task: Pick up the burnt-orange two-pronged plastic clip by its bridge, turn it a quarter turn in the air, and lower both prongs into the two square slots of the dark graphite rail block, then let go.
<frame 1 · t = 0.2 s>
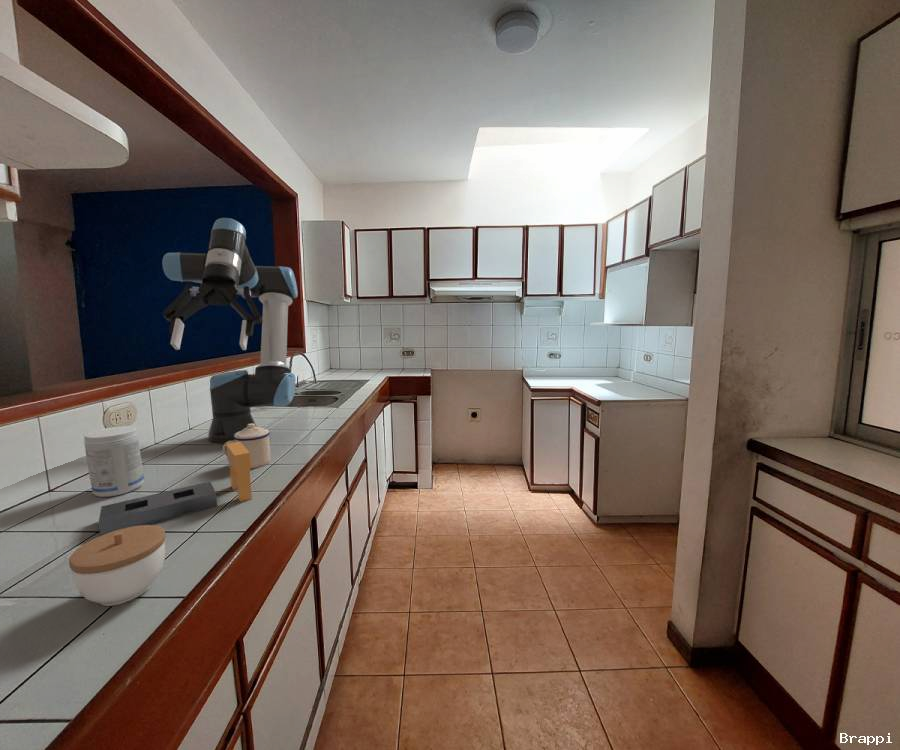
hand: (209, 347, 84), 35 cm above the counter, tool tilted 35°, fingers open, 13 cm apart
orange clip: (241, 492, 89), on the counter
teacup with lid: (248, 464, 107), on the counter
supplement tub: (119, 490, 91), on the counter
graphite rail: (162, 512, 80), on the counter
lidded jar: (126, 592, 57), on the counter
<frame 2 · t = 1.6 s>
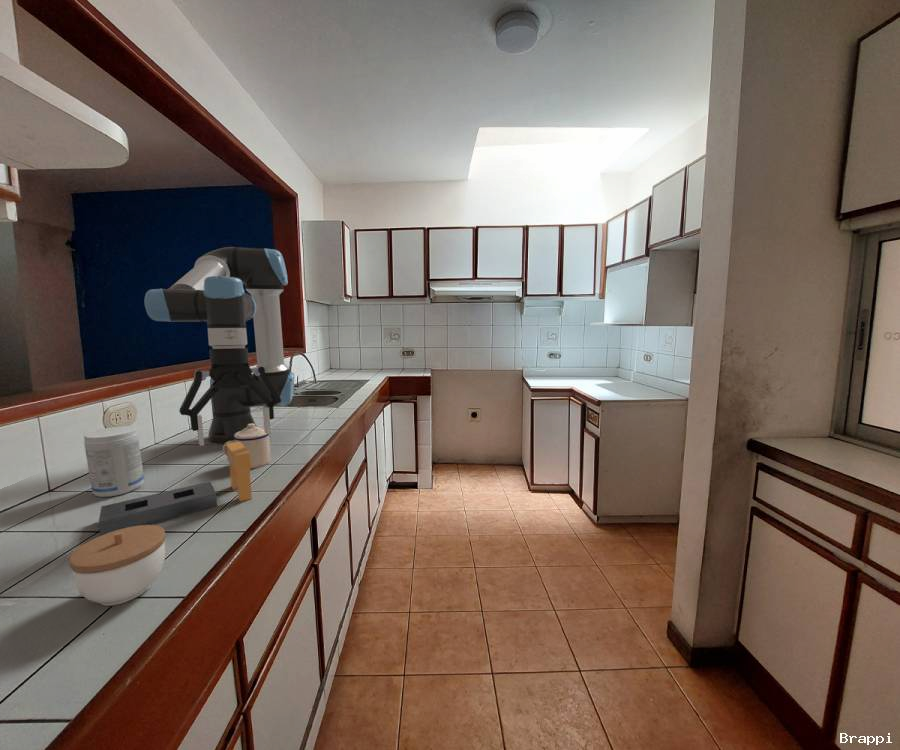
hand: (236, 438, 87), 13 cm above the counter, tool pointing down, fingers open, 13 cm apart
nothing on the counter moved.
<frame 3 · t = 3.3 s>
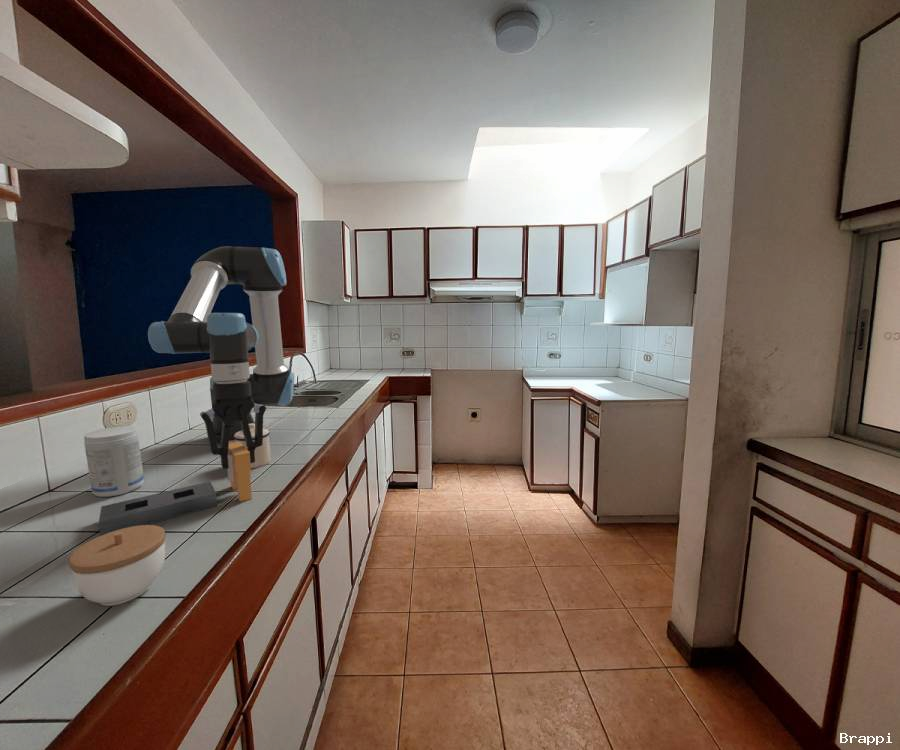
hand: (239, 478, 89), 4 cm above the counter, tool pointing down, fingers closed on orange clip, 3 cm apart
orange clip: (241, 492, 89), on the counter, touching gripper
everything else where it was.
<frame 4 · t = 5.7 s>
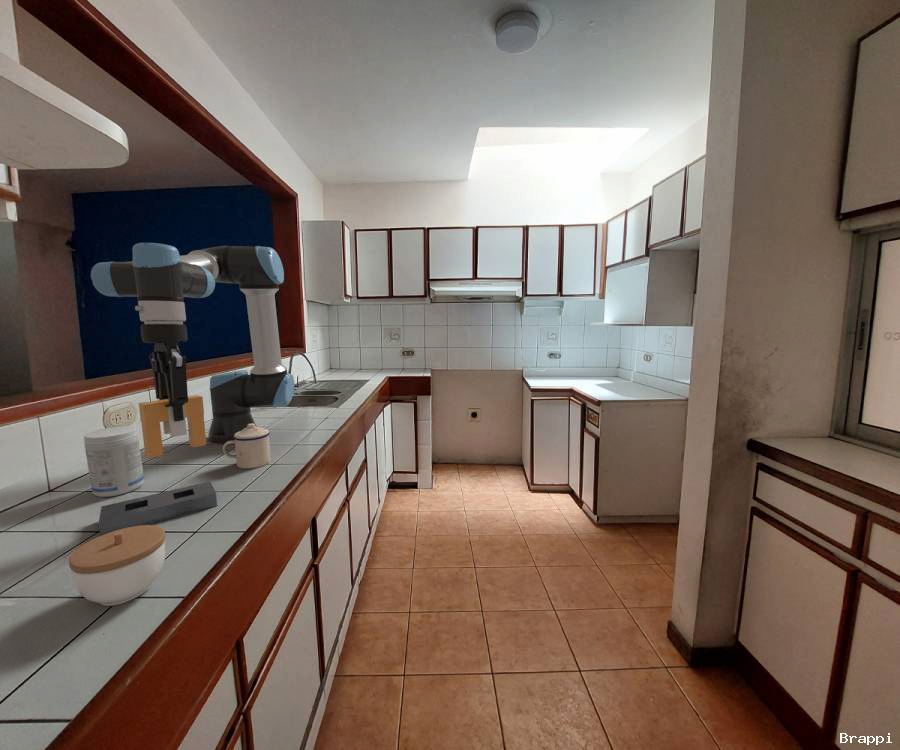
hand: (175, 433, 80), 17 cm above the counter, tool pointing down, fingers closed on orange clip, 3 cm apart
orange clip: (177, 449, 80), point 13 cm above the counter, touching gripper
everything else where it was.
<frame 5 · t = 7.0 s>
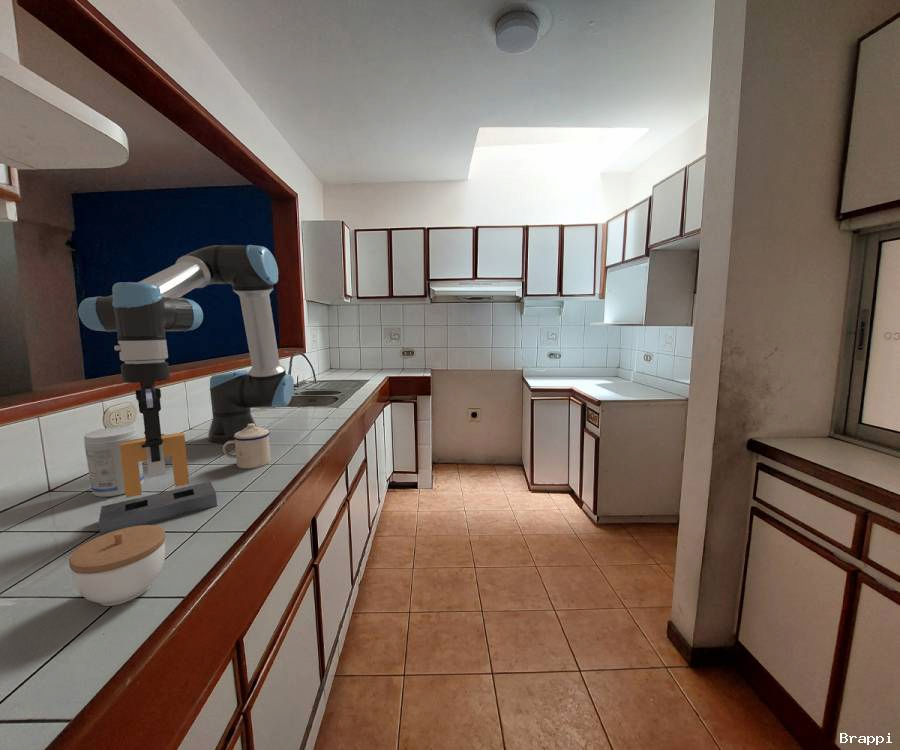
hand: (157, 472, 78), 9 cm above the counter, tool pointing down, fingers closed on orange clip, 3 cm apart
orange clip: (158, 488, 79), point 6 cm above the counter, touching gripper
everything else where it was.
when the fingers open (5 cm above the counter, at t = 8.1 s): orange clip drops 2 cm, resting in graphite rail.
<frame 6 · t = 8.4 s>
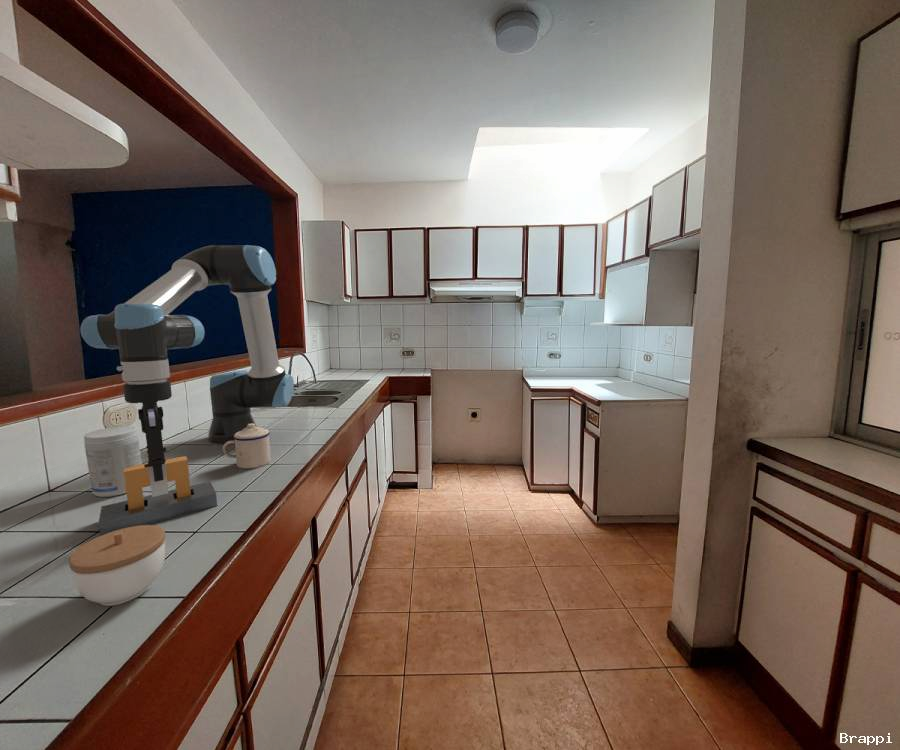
hand: (159, 488, 79), 5 cm above the counter, tool pointing down, fingers open, 6 cm apart
orange clip: (162, 512, 80), resting in graphite rail
everything else where it was.
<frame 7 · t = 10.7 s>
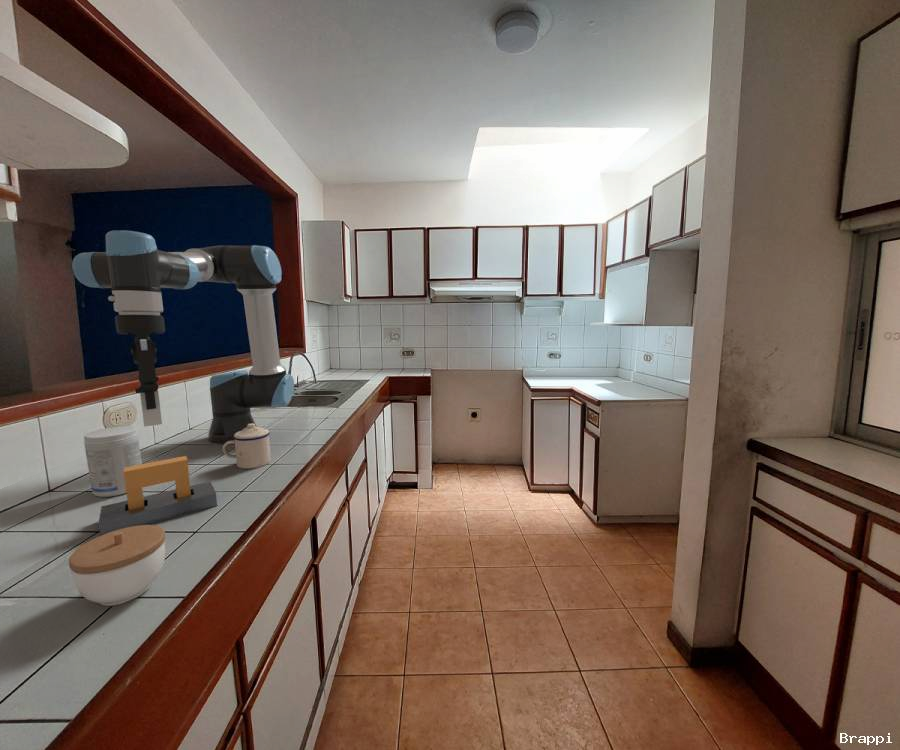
hand: (152, 418, 77), 21 cm above the counter, tool pointing down, fingers open, 13 cm apart
nothing on the counter moved.
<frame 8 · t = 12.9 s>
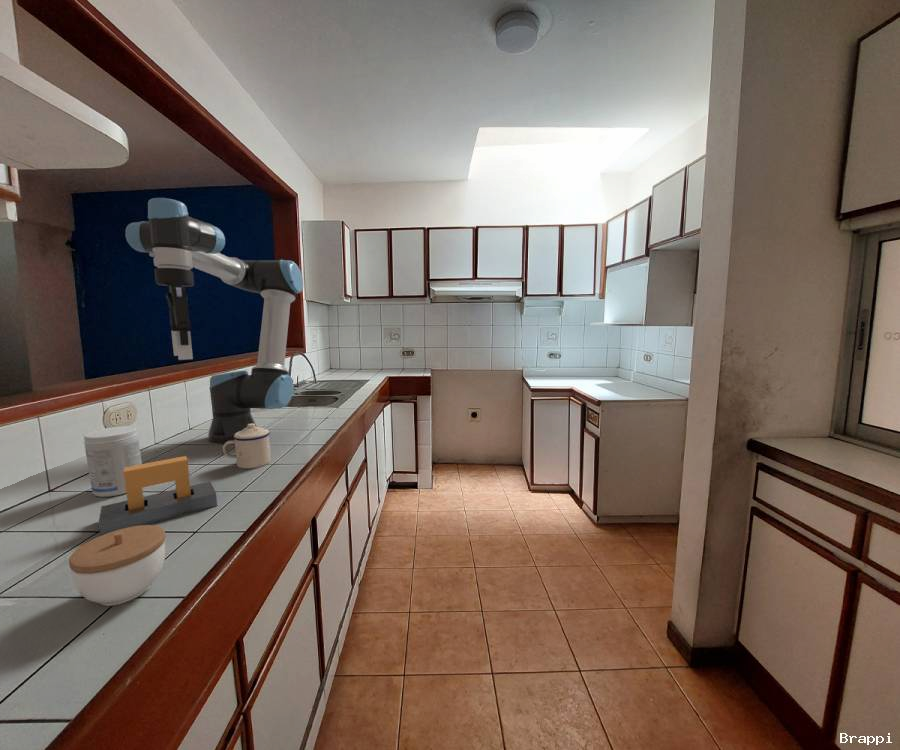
hand: (183, 357, 92), 32 cm above the counter, tool pointing down, fingers open, 13 cm apart
nothing on the counter moved.
at the end: orange clip 0.0 cm off-centre on the graphite rail, point 0.0 cm above the graphite rail's base; orange clip tilted 0°; the gripper is holding nothing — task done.
